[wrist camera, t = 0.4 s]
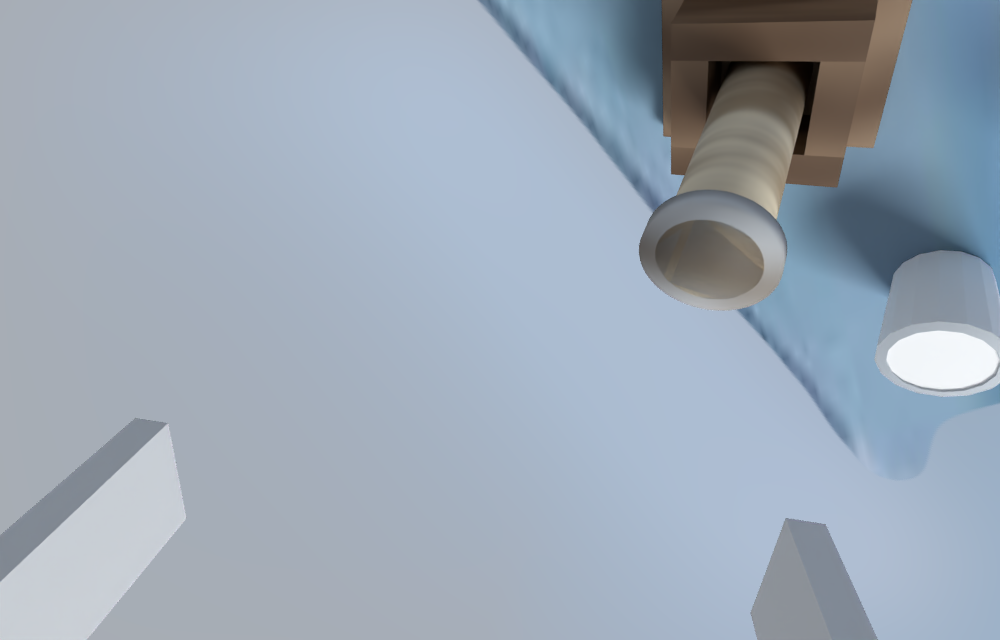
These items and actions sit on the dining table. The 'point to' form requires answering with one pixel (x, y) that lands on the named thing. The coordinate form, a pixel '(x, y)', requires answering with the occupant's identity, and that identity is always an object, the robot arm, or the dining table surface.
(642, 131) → the dining table surface
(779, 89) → the capped plug
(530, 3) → the dining table surface
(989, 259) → the dining table surface
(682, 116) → the socket board
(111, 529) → the robot arm
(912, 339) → the short white cylinder
